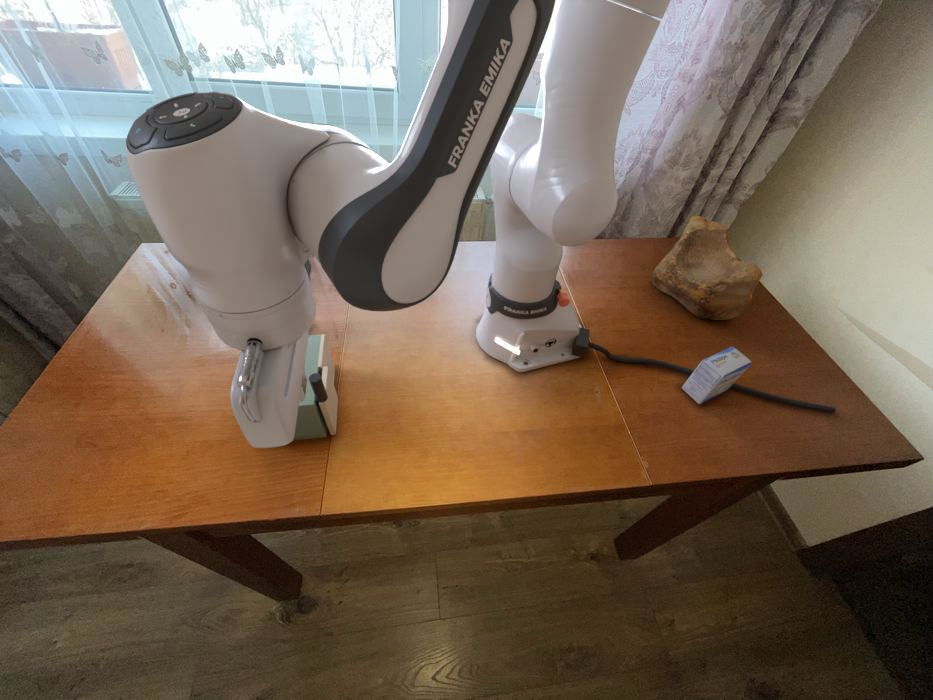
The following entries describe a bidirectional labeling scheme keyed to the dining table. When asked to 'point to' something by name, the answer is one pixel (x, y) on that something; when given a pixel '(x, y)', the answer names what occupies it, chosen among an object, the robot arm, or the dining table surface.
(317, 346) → the cabinet
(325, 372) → the slide door
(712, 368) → the medicine box
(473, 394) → the dining table surface
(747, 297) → the rough brown rock
